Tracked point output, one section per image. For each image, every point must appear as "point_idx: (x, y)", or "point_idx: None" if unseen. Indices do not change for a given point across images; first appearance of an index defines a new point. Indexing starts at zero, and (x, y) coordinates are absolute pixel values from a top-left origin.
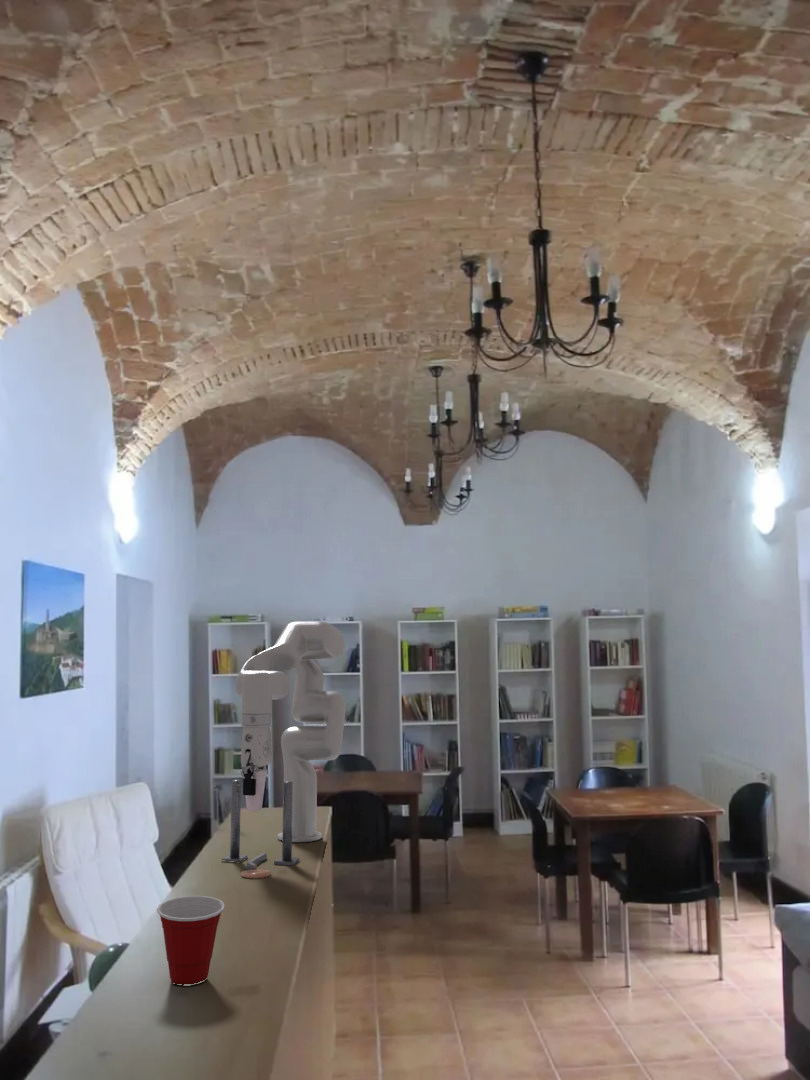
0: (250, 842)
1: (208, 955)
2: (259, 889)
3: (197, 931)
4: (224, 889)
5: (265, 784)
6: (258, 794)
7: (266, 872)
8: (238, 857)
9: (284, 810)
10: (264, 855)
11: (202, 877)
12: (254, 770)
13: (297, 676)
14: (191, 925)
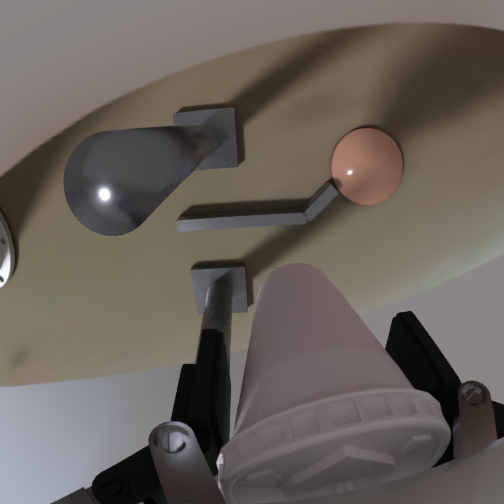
0: (53, 323)
1: None
2: (468, 119)
3: None
4: (475, 190)
5: (211, 358)
6: (354, 312)
7: (363, 139)
8: (224, 280)
9: (199, 160)
10: (195, 218)
11: (398, 276)
12: (487, 433)
13: None
14: None
